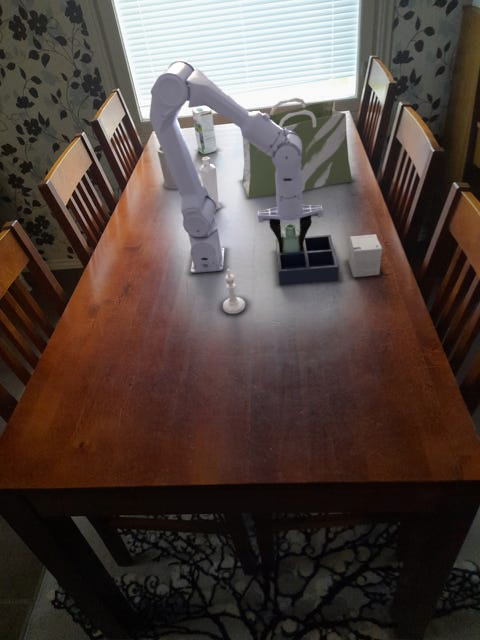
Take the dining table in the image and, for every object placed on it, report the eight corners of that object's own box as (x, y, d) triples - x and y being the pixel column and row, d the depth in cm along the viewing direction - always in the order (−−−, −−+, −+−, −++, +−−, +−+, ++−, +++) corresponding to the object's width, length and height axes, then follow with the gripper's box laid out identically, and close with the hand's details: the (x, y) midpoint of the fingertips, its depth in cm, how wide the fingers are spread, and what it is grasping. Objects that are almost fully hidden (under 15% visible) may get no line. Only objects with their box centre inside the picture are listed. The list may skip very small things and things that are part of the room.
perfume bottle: (219, 211, 133) (212, 161, 123) (205, 211, 134) (196, 162, 124) (223, 203, 136) (216, 154, 126) (209, 203, 137) (201, 155, 127)
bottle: (300, 255, 108) (300, 230, 103) (283, 257, 108) (281, 231, 103) (299, 245, 111) (298, 220, 106) (282, 247, 111) (280, 222, 107)
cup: (184, 174, 155) (177, 138, 146) (197, 182, 148) (190, 146, 140) (160, 182, 151) (152, 147, 143) (172, 192, 145) (164, 155, 137)
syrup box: (197, 150, 169) (190, 109, 159) (212, 145, 171) (206, 105, 161) (203, 155, 165) (196, 113, 155) (218, 150, 166) (212, 109, 157)
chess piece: (244, 298, 102) (239, 261, 95) (245, 312, 98) (240, 275, 92) (222, 300, 102) (216, 264, 96) (223, 314, 99) (216, 278, 92)
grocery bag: (248, 200, 136) (240, 120, 120) (242, 180, 146) (233, 104, 131) (352, 182, 137) (358, 101, 122) (338, 164, 147) (341, 87, 132)
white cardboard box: (373, 260, 107) (376, 233, 102) (379, 275, 103) (382, 248, 98) (347, 262, 108) (349, 235, 103) (352, 277, 103) (354, 250, 98)
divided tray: (337, 280, 103) (338, 266, 100) (279, 285, 104) (278, 271, 102) (330, 248, 113) (330, 234, 110) (276, 252, 114) (275, 239, 111)
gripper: (320, 181, 102) (319, 233, 111) (255, 187, 103) (260, 238, 112) (324, 195, 96) (323, 249, 105) (256, 202, 98) (261, 254, 107)
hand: (291, 244), depth 108 cm, fingers closed on bottle, 4 cm apart
